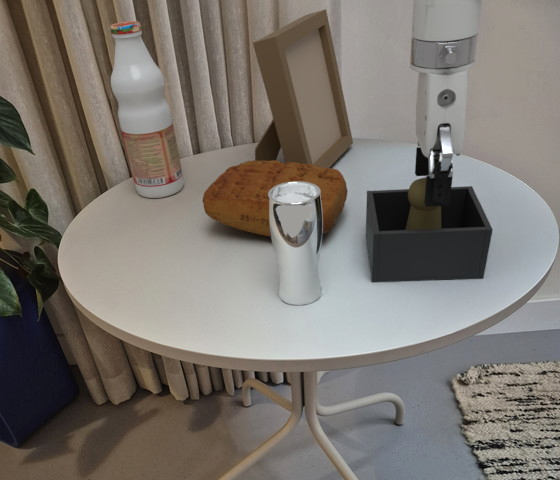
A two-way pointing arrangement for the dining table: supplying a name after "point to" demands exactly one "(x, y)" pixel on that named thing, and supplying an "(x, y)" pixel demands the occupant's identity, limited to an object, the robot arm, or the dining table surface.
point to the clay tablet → (256, 185)
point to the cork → (421, 209)
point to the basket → (426, 239)
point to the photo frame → (303, 94)
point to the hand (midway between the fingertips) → (431, 189)
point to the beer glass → (297, 239)
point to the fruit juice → (144, 115)
